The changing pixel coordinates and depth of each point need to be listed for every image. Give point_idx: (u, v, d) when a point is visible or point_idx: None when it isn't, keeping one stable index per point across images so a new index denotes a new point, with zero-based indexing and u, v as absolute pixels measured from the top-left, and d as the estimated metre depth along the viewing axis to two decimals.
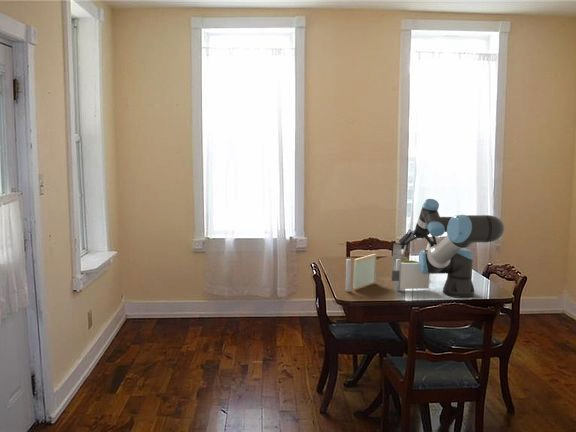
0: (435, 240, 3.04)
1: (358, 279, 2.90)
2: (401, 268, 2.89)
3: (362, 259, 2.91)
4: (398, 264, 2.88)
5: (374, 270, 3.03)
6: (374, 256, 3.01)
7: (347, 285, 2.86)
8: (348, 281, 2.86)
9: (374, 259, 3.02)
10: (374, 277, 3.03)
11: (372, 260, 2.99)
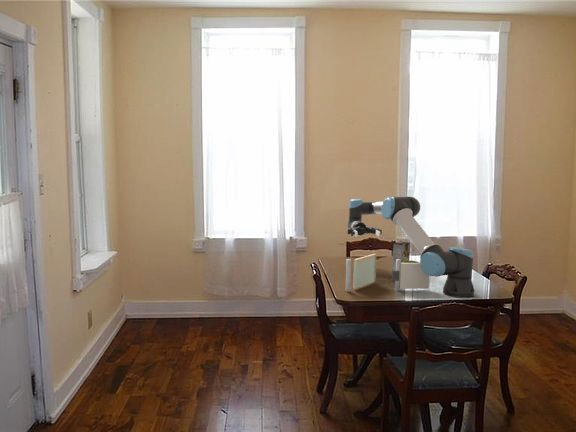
0: (378, 229, 3.24)
1: (358, 279, 2.90)
2: (401, 268, 2.89)
3: (362, 259, 2.91)
4: (398, 264, 2.88)
5: (374, 270, 3.03)
6: (374, 256, 3.01)
7: (347, 285, 2.86)
8: (348, 281, 2.86)
9: (374, 259, 3.02)
10: (374, 277, 3.03)
11: (372, 260, 2.99)
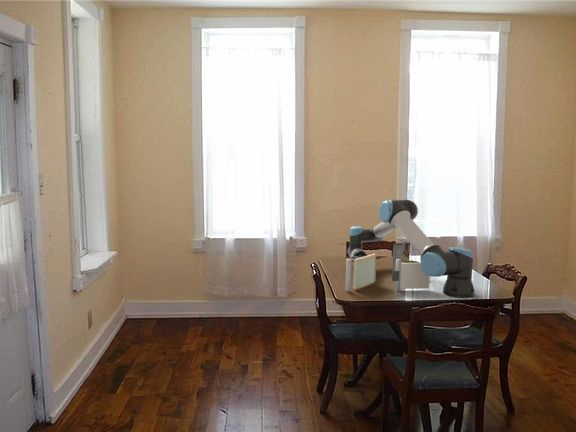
0: None
1: (358, 279, 2.90)
2: (401, 268, 2.89)
3: (362, 259, 2.91)
4: (398, 264, 2.88)
5: (374, 270, 3.03)
6: (374, 256, 3.01)
7: (347, 285, 2.86)
8: (348, 281, 2.86)
9: (374, 259, 3.02)
10: (374, 277, 3.03)
11: (372, 260, 2.99)
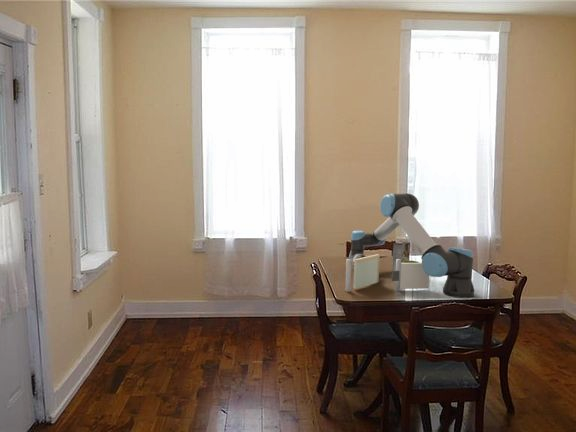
0: None
1: (359, 279, 2.90)
2: (401, 268, 2.89)
3: (363, 259, 2.91)
4: (398, 264, 2.88)
5: (377, 271, 3.01)
6: (377, 257, 3.00)
7: (347, 285, 2.86)
8: (348, 281, 2.86)
9: (377, 259, 3.00)
10: (377, 278, 3.02)
11: (374, 261, 2.98)
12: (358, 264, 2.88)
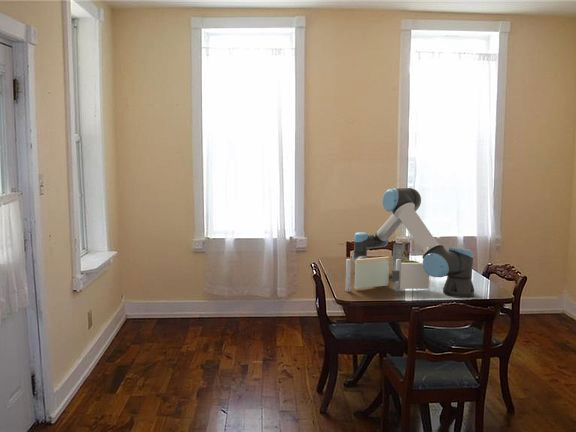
0: None
1: (360, 280, 2.89)
2: (401, 268, 2.89)
3: (366, 260, 2.89)
4: (398, 264, 2.88)
5: (387, 274, 2.96)
6: (386, 259, 2.94)
7: (347, 285, 2.86)
8: (348, 281, 2.86)
9: (387, 261, 2.95)
10: (387, 281, 2.96)
11: (382, 263, 2.94)
12: (359, 264, 2.87)
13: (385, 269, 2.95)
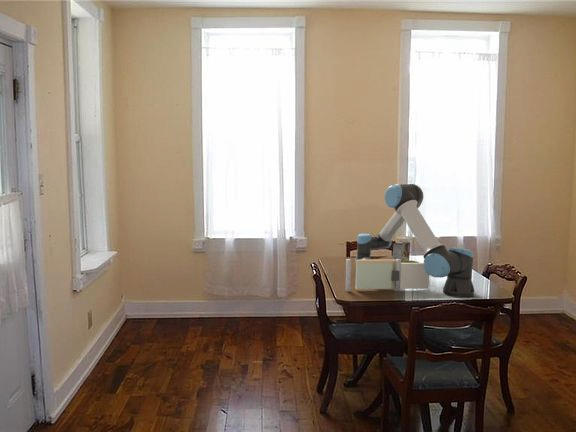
0: None
1: (361, 280, 2.87)
2: (401, 268, 2.89)
3: (368, 261, 2.86)
4: (398, 264, 2.88)
5: None
6: (392, 262, 2.88)
7: (347, 285, 2.86)
8: (348, 281, 2.86)
9: (393, 264, 2.88)
10: (393, 284, 2.89)
11: (387, 265, 2.88)
12: (359, 265, 2.86)
13: (391, 272, 2.88)
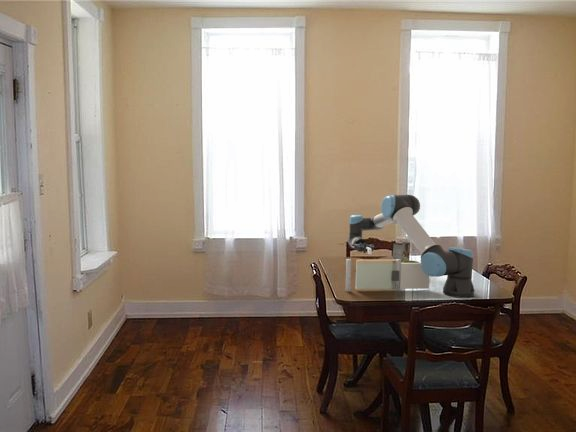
0: (372, 246, 3.18)
1: (361, 280, 2.87)
2: (401, 268, 2.89)
3: (368, 261, 2.86)
4: (398, 264, 2.88)
5: None
6: (392, 262, 2.88)
7: (347, 285, 2.86)
8: (348, 281, 2.86)
9: (393, 265, 2.88)
10: (393, 284, 2.89)
11: (387, 265, 2.88)
12: (359, 265, 2.86)
13: (391, 272, 2.88)
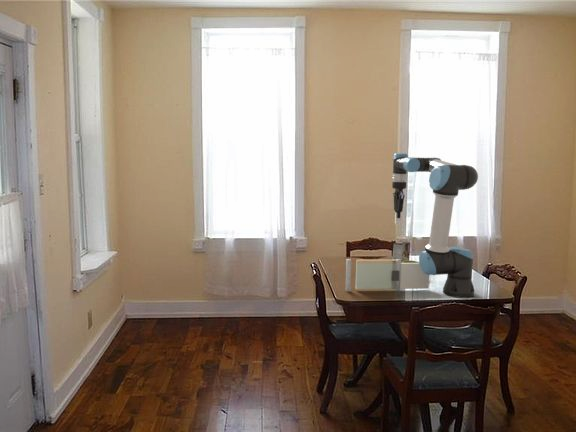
0: None
1: (361, 280, 2.87)
2: (401, 268, 2.89)
3: (368, 261, 2.86)
4: (398, 264, 2.88)
5: None
6: (392, 262, 2.88)
7: (347, 285, 2.86)
8: (348, 281, 2.86)
9: (393, 265, 2.88)
10: (393, 284, 2.89)
11: (387, 265, 2.88)
12: (359, 265, 2.86)
13: (391, 272, 2.88)
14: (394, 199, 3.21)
